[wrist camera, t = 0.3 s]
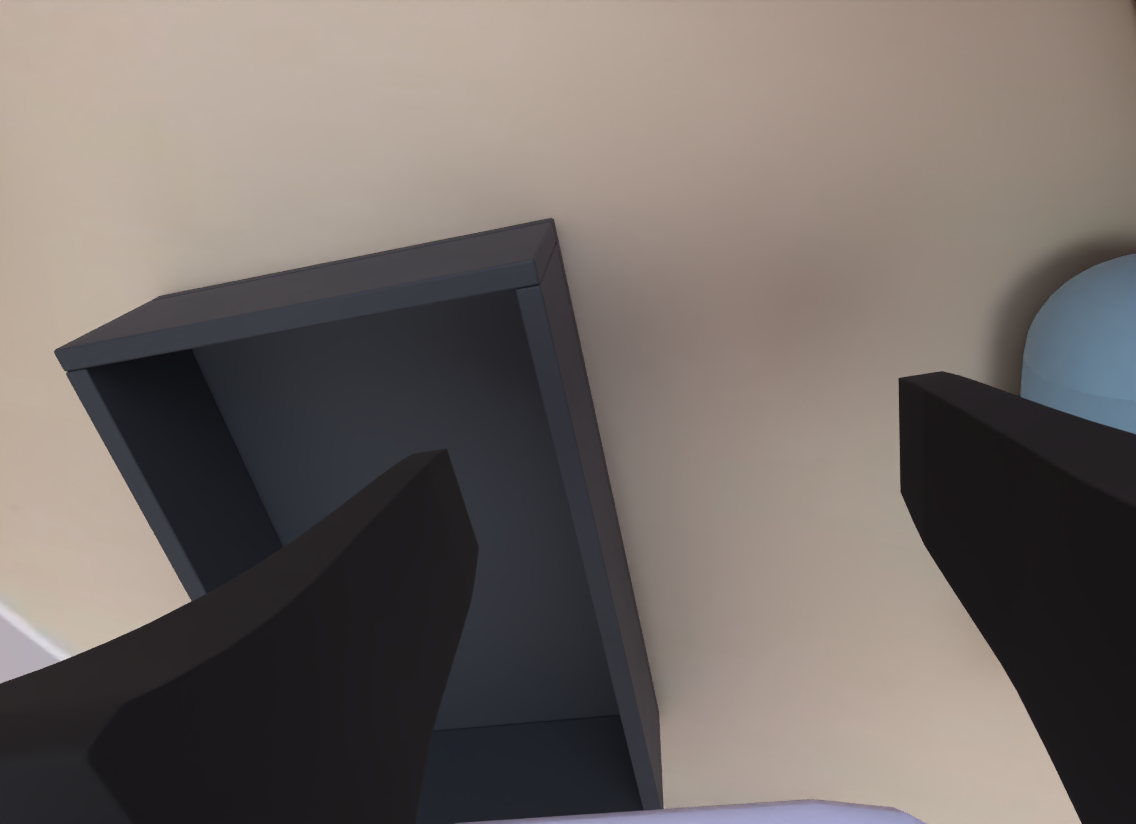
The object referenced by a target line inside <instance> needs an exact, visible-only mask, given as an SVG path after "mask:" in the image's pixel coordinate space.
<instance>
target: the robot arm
mask: <svg viewBox="0 0 1136 824" xmlns="http://www.w3.org/2000/svg"><path fill="white" fill-rule="evenodd" d="M899 425H900V485H901V494H902V496H903V499H904V501H905V503H906V506H907V508H908V510H909V512H910V515H911V517H912V519H913V522H914V524H915V526H916V528H917V530H918V532H919V535H920V537H921V539H922V541H923V543H924V545H925V547H926V548H927V550H928V551H929V553H930V555H931V556H932V558H933V559H934V561H935V563H936V564H937V566H938V567H939V569H940V570H941V572H942V574H943V575H944V577H945V578H946V580H947V581H948V583H949V585H950V586H951V588H952V589H953V591H954V592H955V594H956V595H957V597H958V598H959V600H960V601H961V603H962V604H963V606H964V608H965V609H966V611H967V612H968V614H969V615H970V617H971V618H972V620H973V621H974V623H975V624H976V626H977V628H978V629H979V631H980V632H981V634H982V635H983V637H984V638H985V640H986V641H987V643H988V644H989V646H990V648H991V649H992V651H993V652H994V654H995V655H996V657H997V658H998V660H999V661H1000V663H1001V665H1002V666H1003V668H1004V670H1005V672H1006V673H1007V675H1008V677H1009V678H1010V680H1011V682H1012V683H1013V685H1014V687H1015V689H1016V690H1017V692H1018V694H1019V696H1020V698H1021V700H1022V702H1023V704H1024V706H1025V708H1026V710H1027V712H1028V714H1029V716H1030V718H1031V720H1032V722H1033V724H1034V726H1035V728H1036V730H1037V732H1038V734H1039V736H1040V738H1041V740H1042V742H1043V744H1044V746H1045V748H1046V750H1047V752H1048V754H1049V756H1050V758H1051V760H1052V762H1053V764H1054V766H1055V768H1056V770H1057V772H1058V774H1059V777H1060V779H1061V781H1062V783H1063V785H1064V787H1065V789H1066V791H1067V793H1068V795H1069V798H1070V800H1071V802H1072V804H1073V806H1074V808H1075V810H1076V812H1077V814H1078V817H1079V819H1080V821H1081V823H1082V824H1136V434H1134V433H1131V432H1127V431H1124V430H1120V429H1117V428H1114V427H1110V426H1107V425H1103V424H1100V423H1097V422H1093V421H1090V420H1087V419H1084V418H1081V417H1078V416H1075V415H1072V414H1069V413H1066V412H1063V411H1060V410H1057V409H1054V408H1051V407H1048V406H1045V405H1042V404H1039V403H1037V402H1034V401H1031V400H1028V399H1025V398H1022V397H1020V396H1017V395H1014V394H1011V393H1008V392H1006V391H1003V390H1000V389H997V388H994V387H992V386H989V385H986V384H983V383H980V382H977V381H974V380H971V379H968V378H965V377H962V376H959V375H955V374H952V373H947V372H942V371H941V372H934V373H928V374H922V375H915V376H909V377H902V378H899ZM478 552H479V545H478V542H477V539H476V536H475V533H474V530H473V527H472V524H471V521H470V518H469V515H468V512H467V509H466V506H465V502H464V499H463V496H462V493H461V490H460V487H459V484H458V481H457V478H456V475H455V472H454V469H453V466H452V463H451V460H450V456H449V453H448V450H447V448H446V449H440V450H433V451H427V452H421V453H414V454H411V455H410V456H408V457H406V458H404V459H403V460H401V461H399V462H398V463H396V464H395V465H394V466H392V467H391V468H389V469H388V470H387V471H385V472H384V473H383V474H381V475H380V476H379V477H377V478H376V479H375V480H373V481H372V482H371V483H369V484H368V485H367V486H366V487H364V488H363V489H362V490H360V491H359V492H358V493H356V494H355V495H354V496H353V497H351V498H350V499H349V500H347V501H346V502H345V503H343V504H342V505H341V506H340V507H338V508H337V509H336V510H334V511H333V512H332V513H330V514H329V515H328V516H326V517H325V518H323V519H322V520H321V521H319V522H318V523H316V524H315V525H314V526H312V527H311V528H309V529H308V530H307V531H305V532H304V533H302V534H301V535H300V536H298V537H297V538H295V539H294V540H293V541H291V542H290V543H288V544H287V545H286V546H284V547H283V548H281V549H280V550H278V551H277V552H275V553H274V554H272V555H271V556H269V557H268V558H266V559H265V560H263V561H262V562H260V563H258V564H257V565H255V566H254V567H252V568H250V569H249V570H247V571H245V572H244V573H242V574H240V575H239V576H237V577H235V578H234V579H232V580H230V581H228V582H227V583H225V584H223V585H222V586H220V587H218V588H216V589H215V590H213V591H211V592H209V593H207V594H205V595H203V596H201V597H199V598H197V599H195V600H194V601H192V602H190V603H188V604H186V605H184V606H182V607H180V608H178V609H176V610H174V611H172V612H170V613H168V614H166V615H164V616H162V617H160V618H158V619H156V620H154V621H153V622H151V623H148V624H146V625H144V626H142V627H140V628H138V629H136V630H133V631H131V632H129V633H127V634H124V635H122V636H120V637H118V638H116V639H113V640H111V641H109V642H107V643H104V644H102V645H99V646H97V647H95V648H92V649H90V650H87V651H85V652H83V653H80V654H78V655H76V656H73V657H71V658H68V659H66V660H63V661H61V662H58V663H56V664H53V665H50V666H48V667H45V668H43V669H40V670H38V671H34V672H32V673H29V674H26V675H23V676H20V677H18V678H15V679H12V680H9V681H6V682H4V683H1V684H0V824H416V819H417V813H418V807H419V801H420V795H421V790H422V784H423V779H424V774H425V768H426V763H427V758H428V752H429V747H430V742H431V738H432V734H433V730H434V726H435V722H436V718H437V714H438V711H439V708H440V704H441V701H442V698H443V694H444V691H445V688H446V685H447V681H448V678H449V675H450V671H451V668H452V665H453V661H454V658H455V655H456V652H457V648H458V645H459V642H460V638H461V635H462V632H463V628H464V625H465V621H466V618H467V614H468V611H469V607H470V604H471V600H472V595H473V589H474V583H475V576H476V568H477V560H478ZM456 824H926V823H924V822H922V821H921V820H919V819H917V818H915V817H913V816H911V815H910V814H908V813H905V812H903V811H900V810H898V809H896V808H893V807H884V806H874V805H864V804H855V803H845V802H835V801H825V800H815V799H807V800H792V801H777V802H763V803H748V804H733V805H718V806H703V807H688V808H673V809H658V810H644V811H629V812H614V813H599V814H584V815H569V816H554V817H539V818H525V819H510V820H495V821H480V822H465V823H456Z"/></svg>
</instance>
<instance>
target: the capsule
mask: <svg viewBox="0 0 1136 824" xmlns="http://www.w3.org/2000/svg"><path fill="white" fill-rule="evenodd" d="M1020 397H1022V398H1025V399H1028V400H1031V401H1034V402H1037V403H1039V404H1042V405H1045V406H1048V407H1051V408H1054V409H1057V410H1060V411H1063V412H1066V413H1069V414H1072V415H1075V416H1078V417H1081V418H1084V419H1087V420H1090V421H1093V422H1097V423H1100V424H1103V425H1107V426H1110V427H1114V428H1117V429H1120V430H1124V431H1127V432H1131V433H1134V434H1136V254H1130V255H1125V256H1121V257H1117V258H1114V259H1111V260H1109V261H1106V262H1103V263H1100V264H1097V265H1095V266H1092V267H1090V268H1089V269H1087V270H1085V271H1083V272H1082V273H1080V274H1078V275H1076V276H1075V277H1073V278H1071V279H1070V280H1068V281H1067V282H1066V283H1065V284H1063V285H1062V286H1061V287H1060V288H1059V289H1058V290H1056V291H1055V292H1054V293H1053V294H1052V295H1051V296H1050V297H1049V299H1048V300H1047V301H1046V302H1045V304H1044V305H1043V306H1042V308H1041V309H1040V310H1039V312H1038V313H1037V314H1036V316H1035V318H1034V320H1033V322H1032V324H1031V326H1030V329H1029V331H1028V334H1027V339H1026V344H1025V349H1024V352H1023V366H1022V380H1021V394H1020Z"/></svg>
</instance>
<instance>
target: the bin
mask: <svg viewBox="0 0 1136 824" xmlns="http://www.w3.org/2000/svg"><path fill="white" fill-rule="evenodd" d="M54 353H55V355H56V357H57V359H58V360H59V362H60V364H61V366H62V368H63V369H64V371H68V372H67V373H66V375H67V377H68V379H69V381H70V382H71V384H72V386H73V388H74V390H75V391H76V393H77V395H78V397H79V399H80V400H81V402H82V404H83V406H84V408H85V409H86V411H87V413H88V415H89V417H90V418H91V420H92V422H93V424H94V426H95V428H96V429H97V431H98V433H99V435H100V437H101V438H102V440H103V442H104V444H105V446H106V447H107V449H108V451H109V453H110V455H111V456H112V458H113V460H114V462H115V464H116V465H117V467H118V469H119V471H120V473H121V474H122V476H123V478H124V480H125V482H126V483H127V485H128V487H129V489H130V491H131V492H132V494H133V496H134V498H135V500H136V502H137V503H138V505H139V507H140V509H141V511H142V512H143V514H144V516H145V518H146V520H147V521H148V523H149V525H150V527H151V529H152V530H153V532H154V534H155V536H156V538H157V539H158V541H159V543H160V545H161V547H162V548H163V550H164V552H165V554H166V556H167V557H168V559H169V561H170V563H171V565H172V567H173V568H174V570H175V572H176V574H177V576H178V577H179V579H180V581H181V583H182V585H183V586H184V588H185V590H186V592H187V594H188V595H189V597H190V599H191V601H194V600H195V599H197V598H199V597H201V596H203V595H205V594H207V593H209V592H211V591H213V590H215V589H216V588H218V587H220V586H222V585H223V584H225V583H227V582H228V581H230V580H232V579H234V578H235V577H237V576H239V575H240V574H242V573H244V572H245V571H247V570H249V569H250V568H252V567H254V566H255V565H257V564H258V563H260V562H262V561H263V560H265V559H266V558H268V557H269V556H271V555H272V554H274V553H275V552H277V551H278V550H280V549H281V548H283V547H284V546H286V545H287V544H288V543H290V542H291V541H293V540H294V539H295V538H297V537H298V536H300V535H301V534H302V533H304V532H305V531H307V530H308V529H309V528H311V527H312V526H314V525H315V524H316V523H318V522H319V521H321V520H322V519H323V518H325V517H326V516H328V515H329V514H330V513H332V512H333V511H334V510H336V509H337V508H338V507H340V506H341V505H342V504H343V503H345V502H346V501H347V500H349V499H350V498H351V497H353V496H354V495H355V494H356V493H358V492H359V491H360V490H362V489H363V488H364V487H366V486H367V485H368V484H369V483H371V482H372V481H373V480H375V479H376V478H377V477H379V476H380V475H381V474H383V473H384V472H385V471H387V470H388V469H389V468H391V467H392V466H394V465H395V464H396V463H398V462H399V461H401V460H403V459H404V458H406V457H408V456H410V455H411V454H414V453H421V452H427V451H433V450H440V449H446V448H447V450H448V453H449V456H450V460H451V463H452V466H453V469H454V472H455V475H456V478H457V481H458V484H459V487H460V490H461V493H462V496H463V499H464V502H465V506H466V509H467V512H468V515H469V518H470V521H471V524H472V527H473V530H474V533H475V536H476V539H477V542H478V545H479V552H478V560H477V568H476V576H475V583H474V589H473V595H472V600H471V604H470V607H469V611H468V614H467V618H466V621H465V625H464V628H463V632H462V635H461V638H460V642H459V645H458V648H457V652H456V655H455V658H454V661H453V665H452V668H451V671H450V675H449V678H448V681H447V685H446V688H445V691H444V694H443V698H442V701H441V704H440V708H439V711H438V714H437V718H436V722H435V726H434V730H433V734H432V738H431V742H430V747H429V752H428V758H427V763H426V768H425V774H424V779H423V784H422V790H421V795H420V801H419V807H418V813H417V819H416V824H456V823H465V822H480V821H495V820H510V819H525V818H539V817H554V816H569V815H584V814H599V813H614V812H629V811H644V810H658V809H664V808H663V787H662V766H661V745H660V723H659V710H658V705H657V700H656V696H655V691H654V686H653V682H652V677H651V672H650V668H649V663H648V658H647V654H646V649H645V644H644V639H643V635H642V630H641V625H640V621H639V616H638V611H637V607H636V602H635V597H634V593H633V588H632V583H631V579H630V574H629V569H628V565H627V560H626V555H625V551H624V546H623V541H622V537H621V532H620V527H619V522H618V518H617V513H616V508H615V504H614V499H613V494H612V490H611V485H610V480H609V476H608V471H607V466H606V462H605V457H604V452H603V448H602V443H601V438H600V434H599V429H598V424H597V419H596V415H595V410H594V405H593V401H592V396H591V391H590V387H589V382H588V377H587V373H586V368H585V363H584V359H583V354H582V349H581V345H580V340H579V335H578V331H577V326H576V321H575V317H574V312H573V307H572V302H571V298H570V293H569V288H568V284H567V279H566V274H565V270H564V265H563V260H562V256H561V251H560V246H559V242H558V237H557V232H556V228H555V223H554V219H553V218H550V219H545V220H540V221H535V222H529V223H524V224H519V225H514V226H509V227H504V228H499V229H494V230H489V231H484V232H479V233H474V234H469V235H464V236H459V237H454V238H449V239H444V240H439V241H434V242H429V243H424V244H419V245H414V246H409V247H404V248H399V249H394V250H389V251H384V252H379V253H374V254H369V255H364V256H359V257H354V258H349V259H344V260H339V261H334V262H329V263H324V264H319V265H314V266H309V267H304V268H298V269H293V270H288V271H283V272H278V273H273V274H268V275H263V276H258V277H253V278H248V279H243V280H238V281H233V282H228V283H223V284H218V285H213V286H208V287H203V288H198V289H193V290H188V291H183V292H178V293H173V294H168V295H163V296H159V297H157V298H155V299H153V300H152V301H150V302H148V303H146V304H144V305H142V306H140V307H138V308H136V309H134V310H132V311H130V312H128V313H126V314H124V315H122V316H120V317H118V318H116V319H114V320H112V321H110V322H109V323H107V324H105V325H103V326H101V327H99V328H97V329H95V330H93V331H91V332H89V333H87V334H85V335H83V336H81V337H79V338H77V339H75V340H73V341H71V342H69V343H67V344H66V345H64V346H62V347H60V348H58V349H56V350H55V351H54Z"/></svg>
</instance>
